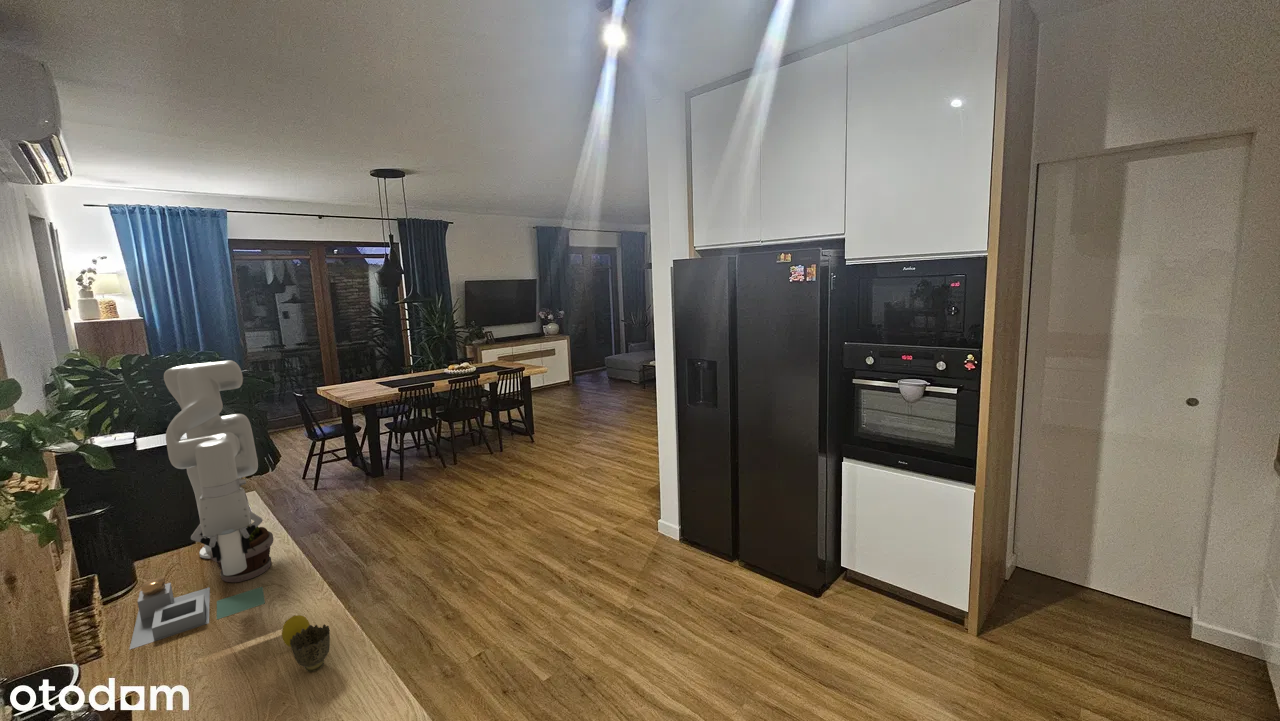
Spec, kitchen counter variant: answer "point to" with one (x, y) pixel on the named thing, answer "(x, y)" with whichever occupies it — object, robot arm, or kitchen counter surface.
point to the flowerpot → (252, 556)
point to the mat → (240, 602)
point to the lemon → (294, 627)
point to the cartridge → (231, 552)
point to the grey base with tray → (169, 614)
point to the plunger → (153, 586)
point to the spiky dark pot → (311, 647)
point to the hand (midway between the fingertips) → (232, 554)
